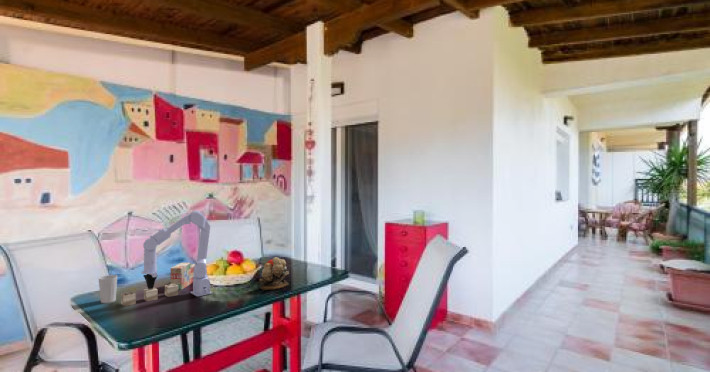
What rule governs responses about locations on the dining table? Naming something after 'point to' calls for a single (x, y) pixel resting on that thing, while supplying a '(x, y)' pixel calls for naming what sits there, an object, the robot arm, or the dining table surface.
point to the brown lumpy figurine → (274, 275)
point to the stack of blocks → (182, 274)
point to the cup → (108, 288)
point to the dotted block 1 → (128, 298)
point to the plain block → (150, 294)
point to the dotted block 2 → (171, 290)
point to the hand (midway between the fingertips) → (150, 288)
